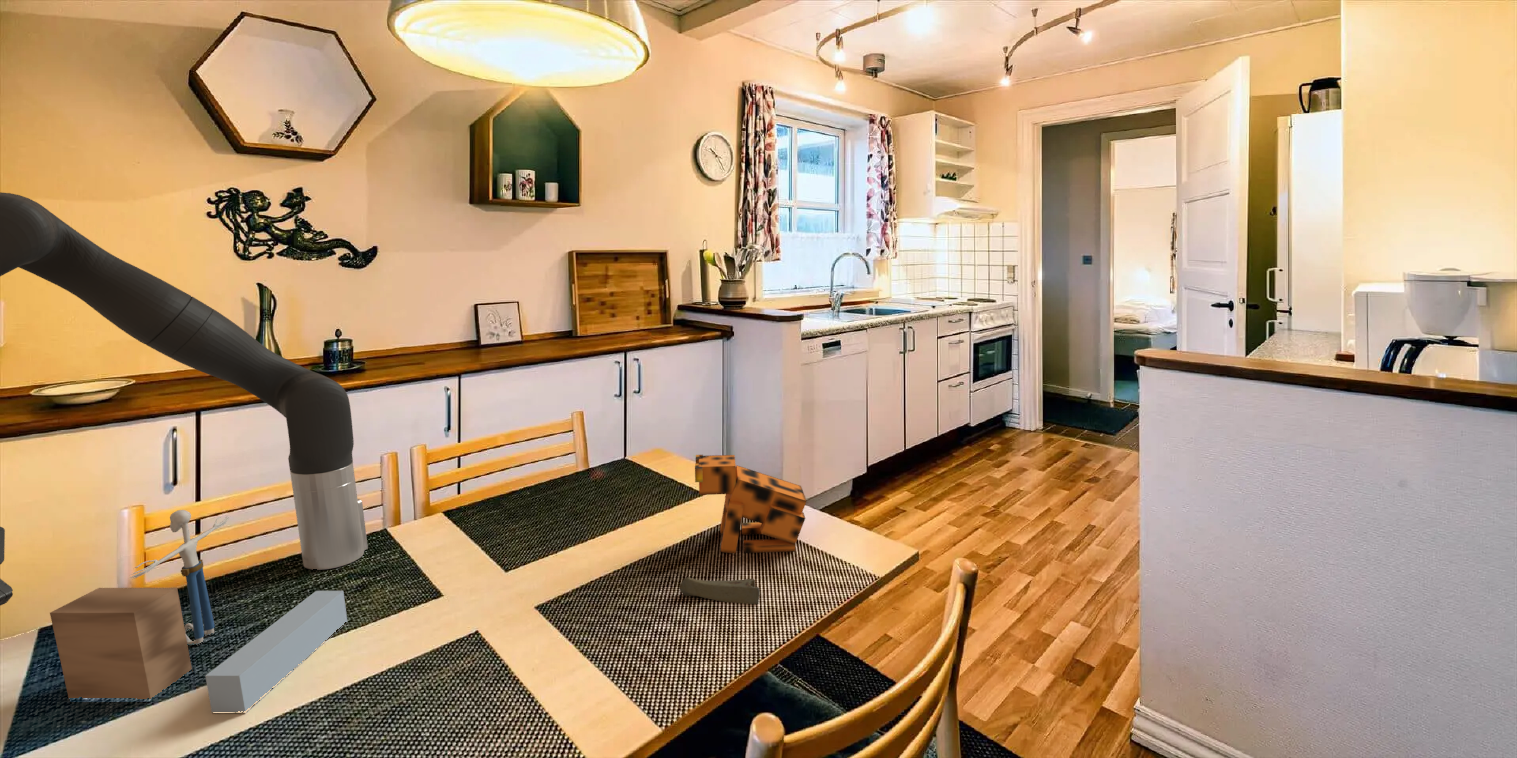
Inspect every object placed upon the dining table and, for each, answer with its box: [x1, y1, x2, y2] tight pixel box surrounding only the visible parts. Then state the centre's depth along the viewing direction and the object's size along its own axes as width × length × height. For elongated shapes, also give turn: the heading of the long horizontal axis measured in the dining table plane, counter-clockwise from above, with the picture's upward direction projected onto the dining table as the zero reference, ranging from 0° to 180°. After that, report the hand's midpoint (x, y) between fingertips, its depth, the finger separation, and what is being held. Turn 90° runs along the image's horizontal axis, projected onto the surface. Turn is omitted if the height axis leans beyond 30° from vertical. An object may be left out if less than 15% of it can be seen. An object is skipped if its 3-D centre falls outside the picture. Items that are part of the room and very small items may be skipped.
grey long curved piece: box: [679, 576, 761, 605], centre depth 107 cm, size 13×5×4 cm, turn 82°
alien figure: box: [130, 509, 231, 644], centre depth 93 cm, size 20×5×19 cm, turn 8°
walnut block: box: [49, 587, 193, 699], centre depth 84 cm, size 6×10×12 cm, turn 90°
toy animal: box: [694, 454, 807, 554], centre depth 125 cm, size 10×20×16 cm, turn 94°
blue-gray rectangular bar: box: [204, 590, 348, 713], centre depth 89 cm, size 20×4×5 cm, turn 0°
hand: (3, 602), depth 83 cm, fingers closed
